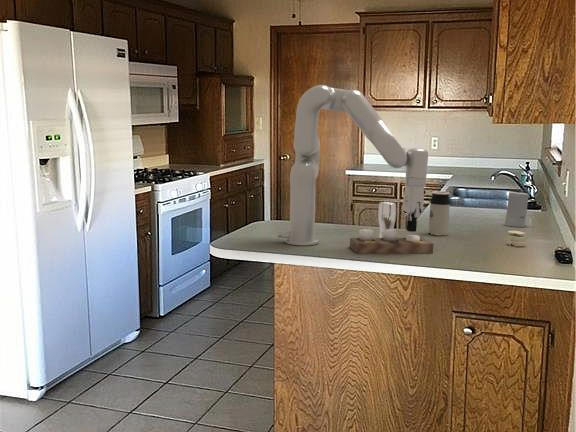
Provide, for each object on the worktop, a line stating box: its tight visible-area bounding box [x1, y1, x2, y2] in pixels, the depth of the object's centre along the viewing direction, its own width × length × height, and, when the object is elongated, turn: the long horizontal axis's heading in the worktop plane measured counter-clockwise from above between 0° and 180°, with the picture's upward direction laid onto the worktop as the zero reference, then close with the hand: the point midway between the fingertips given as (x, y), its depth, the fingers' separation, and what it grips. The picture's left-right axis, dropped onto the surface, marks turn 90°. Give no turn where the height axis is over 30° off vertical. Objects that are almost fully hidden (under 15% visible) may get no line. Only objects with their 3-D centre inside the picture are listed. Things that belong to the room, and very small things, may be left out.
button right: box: [405, 234, 421, 241], centre depth 237 cm, size 5×5×4 cm
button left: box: [358, 228, 374, 241], centre depth 234 cm, size 5×5×4 cm
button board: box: [349, 237, 434, 255], centre depth 234 cm, size 28×12×4 cm, turn 98°
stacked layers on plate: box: [506, 230, 527, 247], centre depth 250 cm, size 10×9×6 cm
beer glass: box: [377, 201, 397, 238], centre depth 252 cm, size 7×7×15 cm
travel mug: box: [428, 190, 451, 236], centre depth 269 cm, size 8×8×18 cm
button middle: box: [383, 228, 398, 241], centre depth 235 cm, size 5×5×4 cm
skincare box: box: [504, 191, 530, 228], centre depth 297 cm, size 8×7×16 cm
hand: (411, 231), depth 237 cm, fingers closed
